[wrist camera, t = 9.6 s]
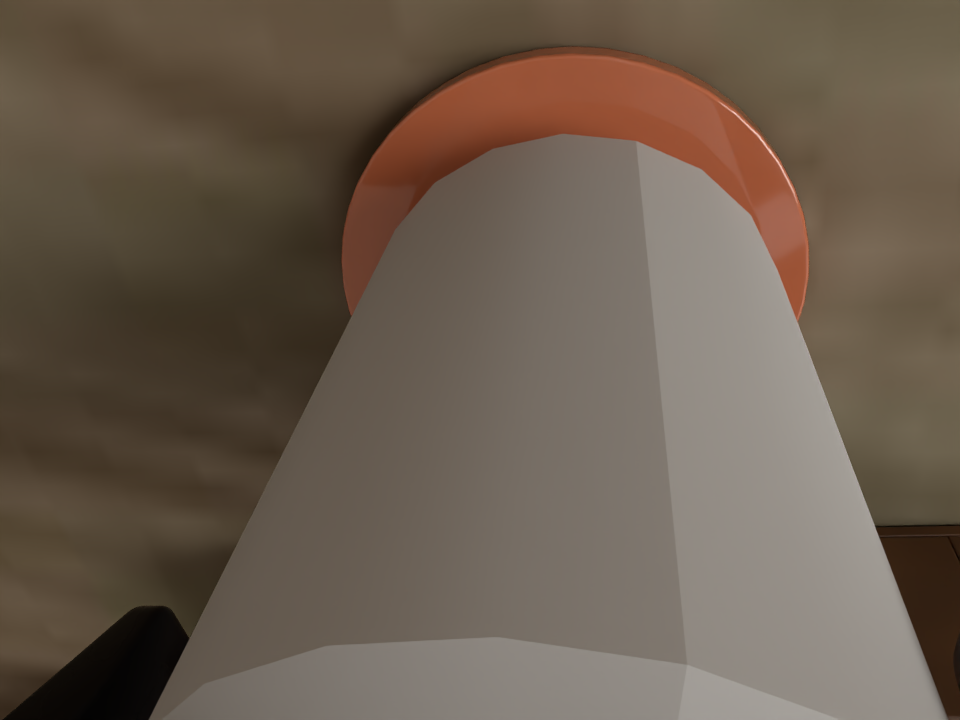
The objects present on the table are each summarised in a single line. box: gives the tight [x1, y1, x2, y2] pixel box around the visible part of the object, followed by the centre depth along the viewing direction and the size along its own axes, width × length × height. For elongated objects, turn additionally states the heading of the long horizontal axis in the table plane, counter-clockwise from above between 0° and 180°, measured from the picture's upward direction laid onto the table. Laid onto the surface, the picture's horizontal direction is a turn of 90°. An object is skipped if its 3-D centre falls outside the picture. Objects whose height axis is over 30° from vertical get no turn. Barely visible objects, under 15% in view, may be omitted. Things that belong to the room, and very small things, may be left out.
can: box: [149, 134, 948, 720], centre depth 10 cm, size 8×8×12 cm
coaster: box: [341, 46, 809, 323], centre depth 15 cm, size 9×9×1 cm
